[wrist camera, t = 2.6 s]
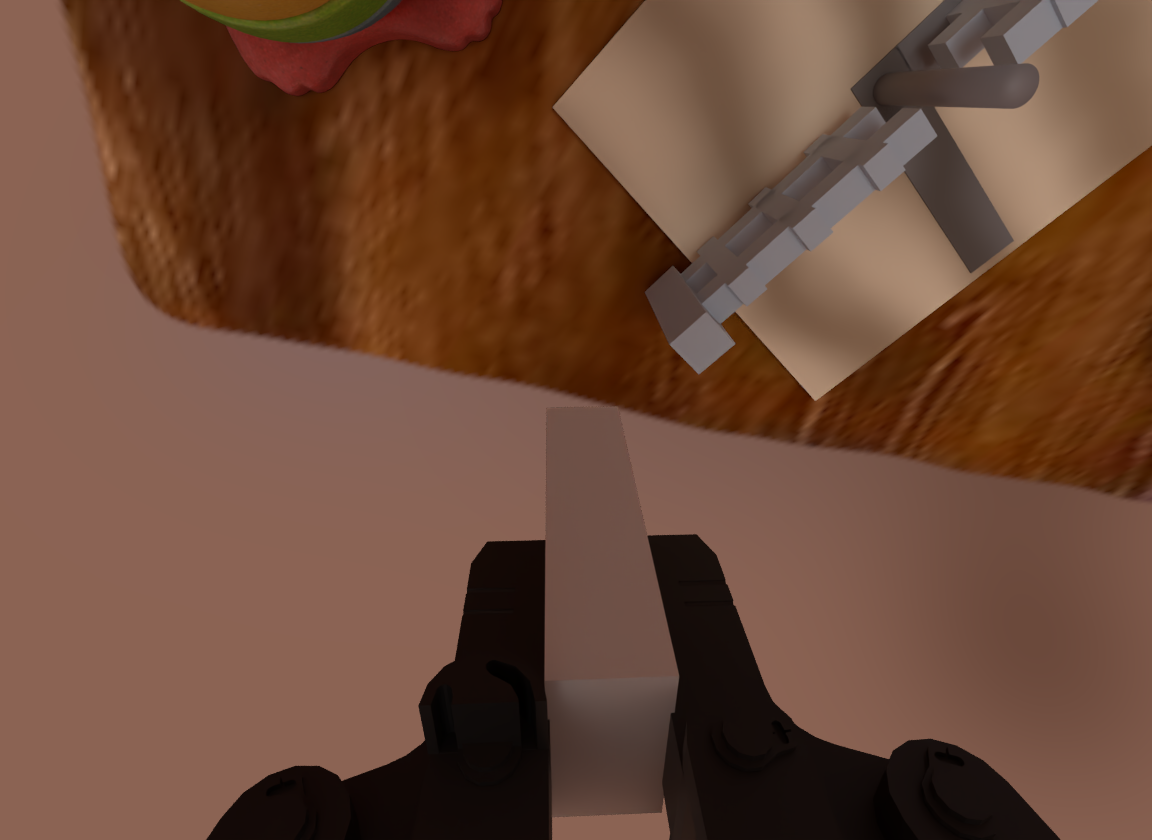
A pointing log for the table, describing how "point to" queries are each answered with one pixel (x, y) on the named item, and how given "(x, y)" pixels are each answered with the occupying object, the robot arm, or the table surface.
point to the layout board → (820, 106)
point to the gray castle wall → (782, 228)
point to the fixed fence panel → (1008, 33)
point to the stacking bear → (339, 32)
